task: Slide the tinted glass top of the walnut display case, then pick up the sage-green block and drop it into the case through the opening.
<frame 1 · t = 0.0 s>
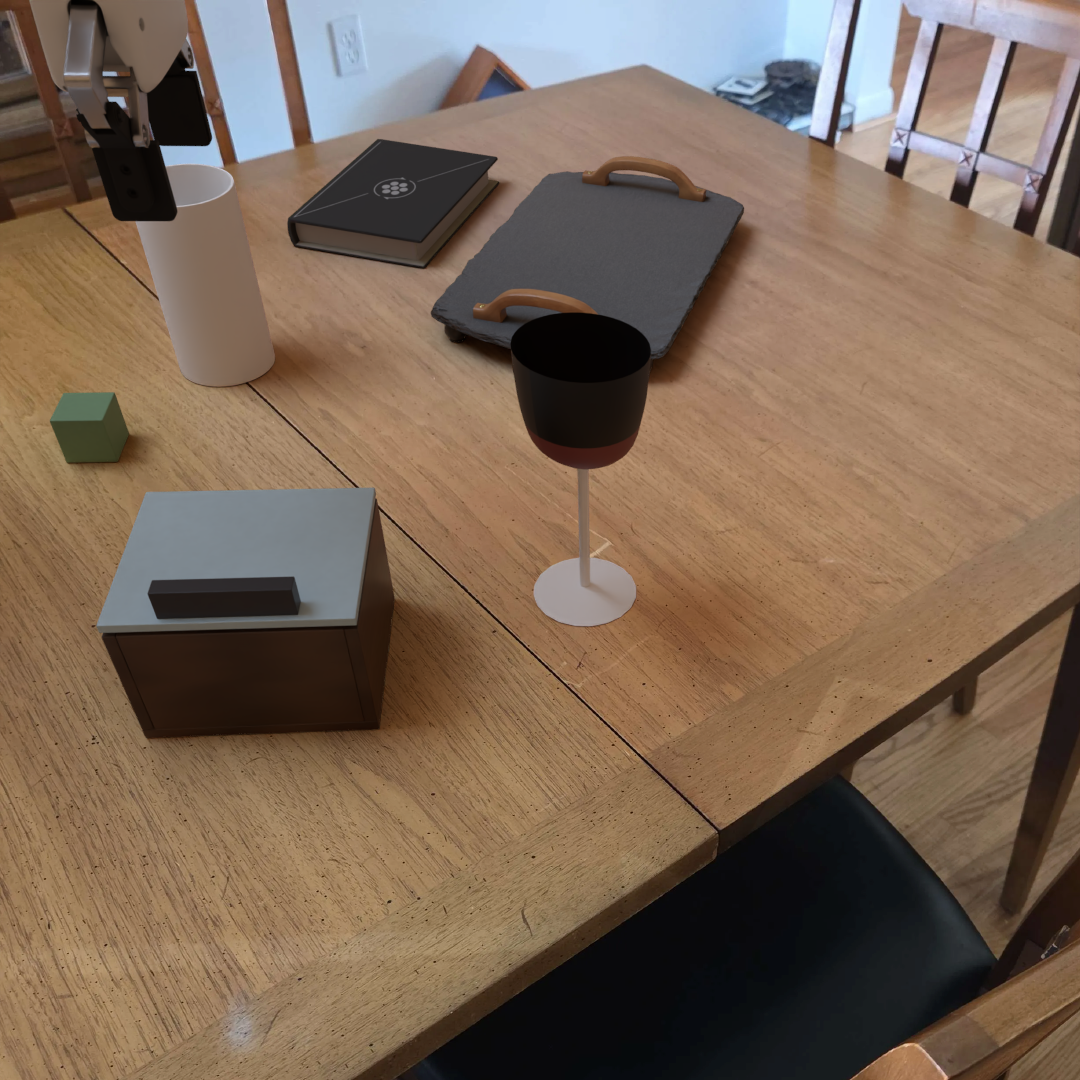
hand: (166, 179, 65), 29 cm above the table, tool pointing down, fingers open, 9 cm apart
block: (98, 448, 94), on the table
wineglass: (585, 592, 85), on the table
glass lid: (242, 542, 71), point 11 cm above the table, slide at 0.0 cm
cup: (228, 363, 104), on the table
case: (278, 663, 78), on the table
serving tray: (599, 281, 117), on the table
book: (400, 215, 126), on the table
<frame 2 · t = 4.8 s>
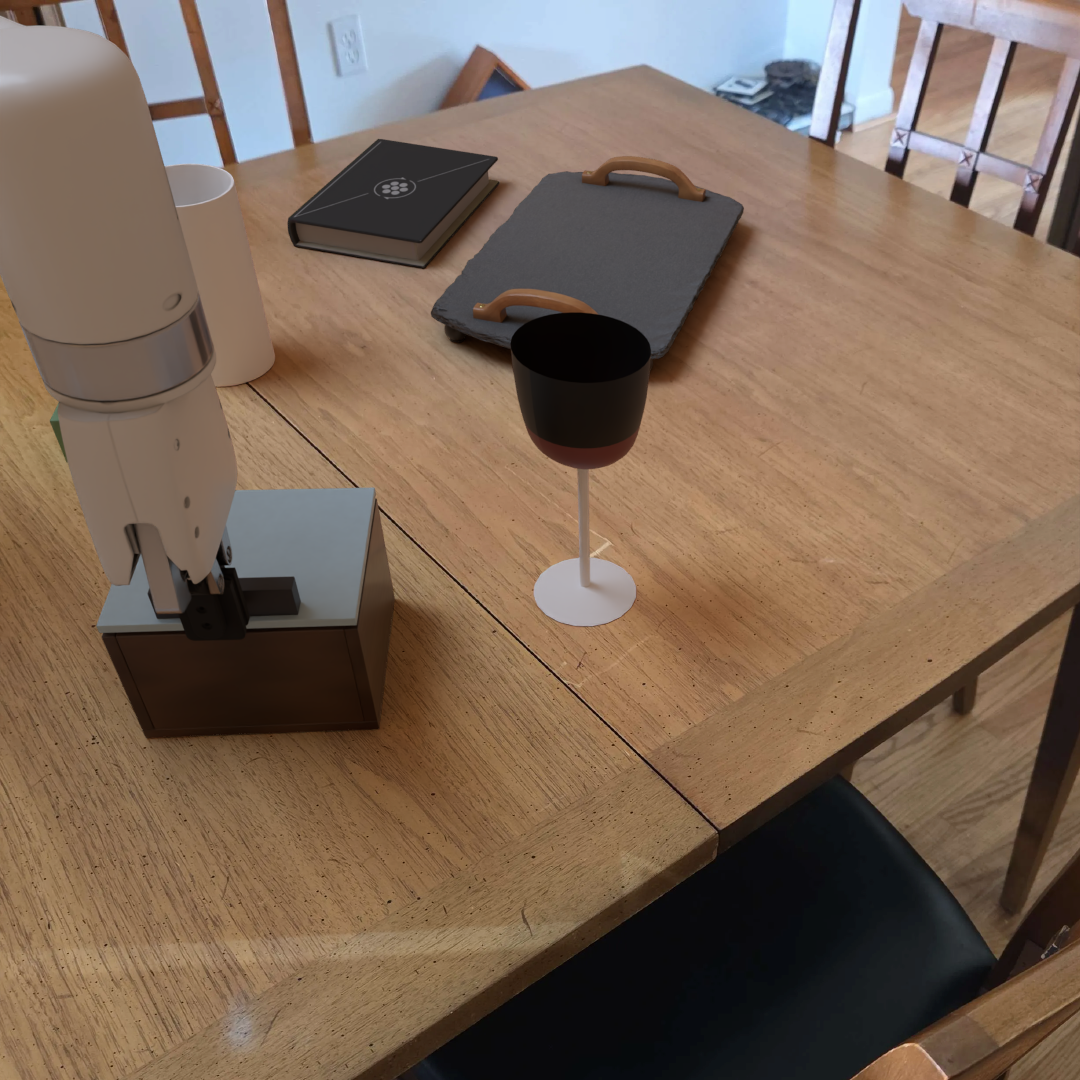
hand: (219, 630, 66), 11 cm above the table, tool pointing down, fingers closed
glass lid: (242, 542, 71), point 11 cm above the table, slide at 0.0 cm, touching gripper
everything else where it was.
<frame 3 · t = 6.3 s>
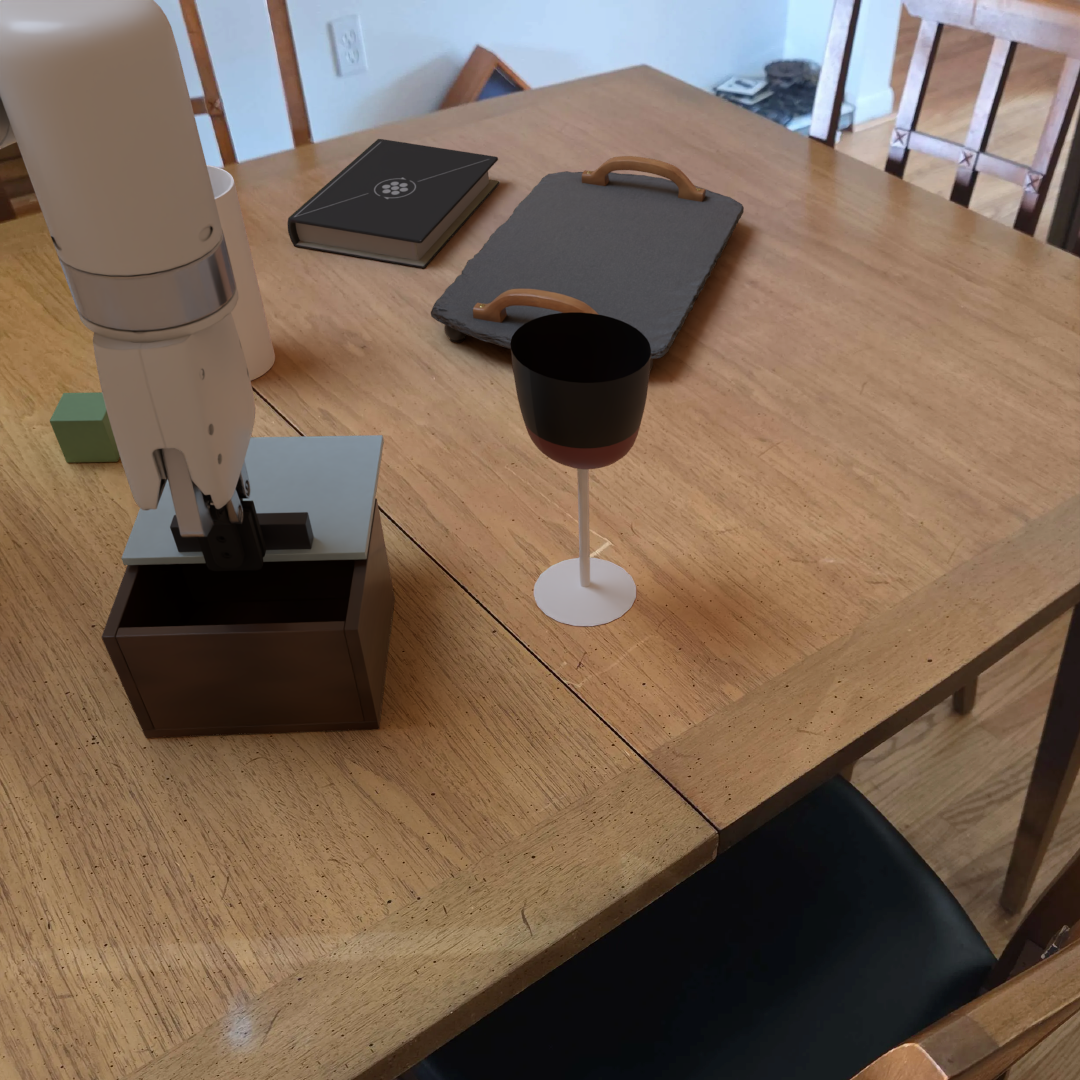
hand: (238, 561, 70), 11 cm above the table, tool pointing down, fingers closed
glass lid: (258, 483, 75), point 11 cm above the table, slide at 6.0 cm, touching gripper
everything else where it was.
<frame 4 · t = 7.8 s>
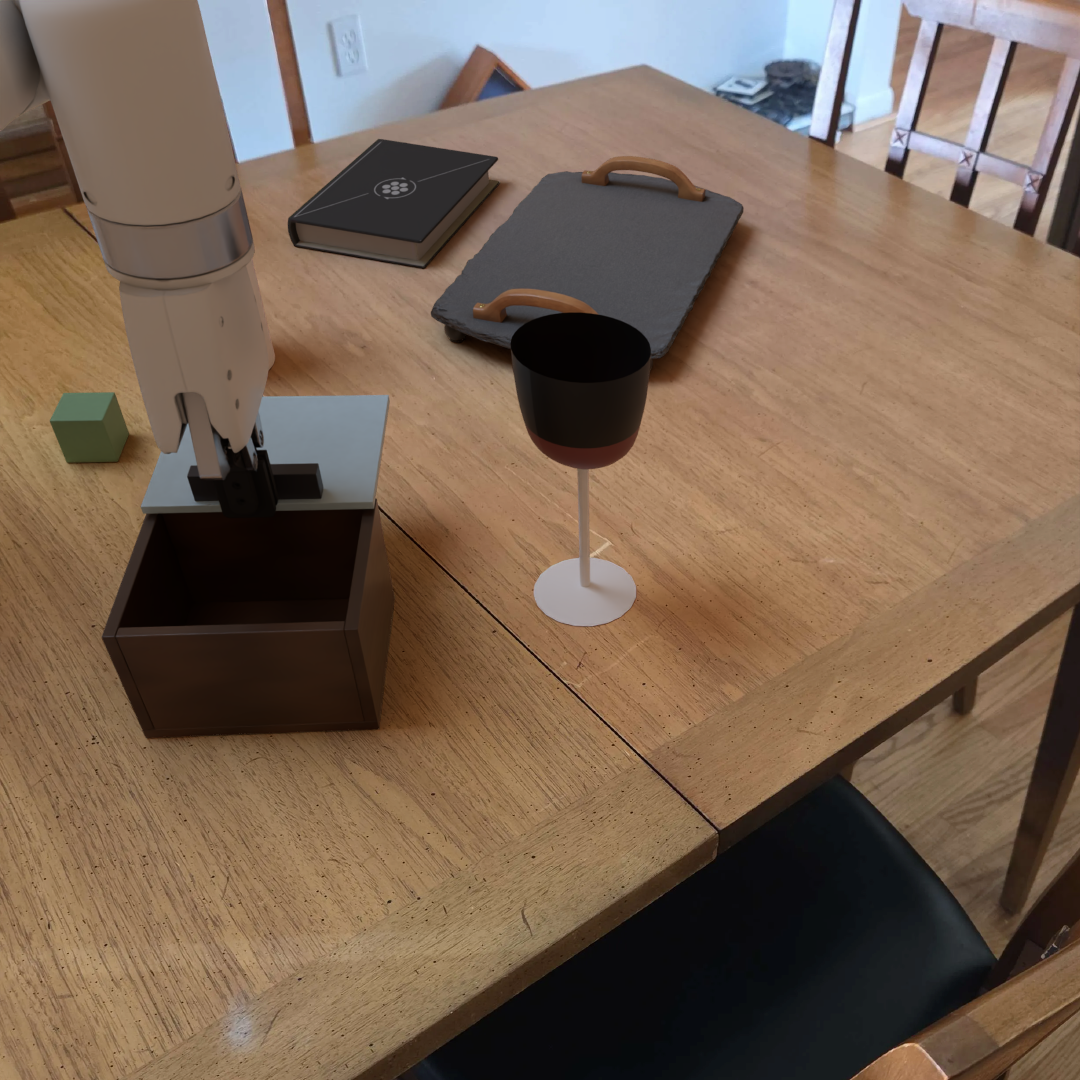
hand: (252, 509, 73), 10 cm above the table, tool pointing down, fingers closed
glass lid: (270, 438, 78), point 11 cm above the table, slide at 11.0 cm, touching gripper
everything else where it was.
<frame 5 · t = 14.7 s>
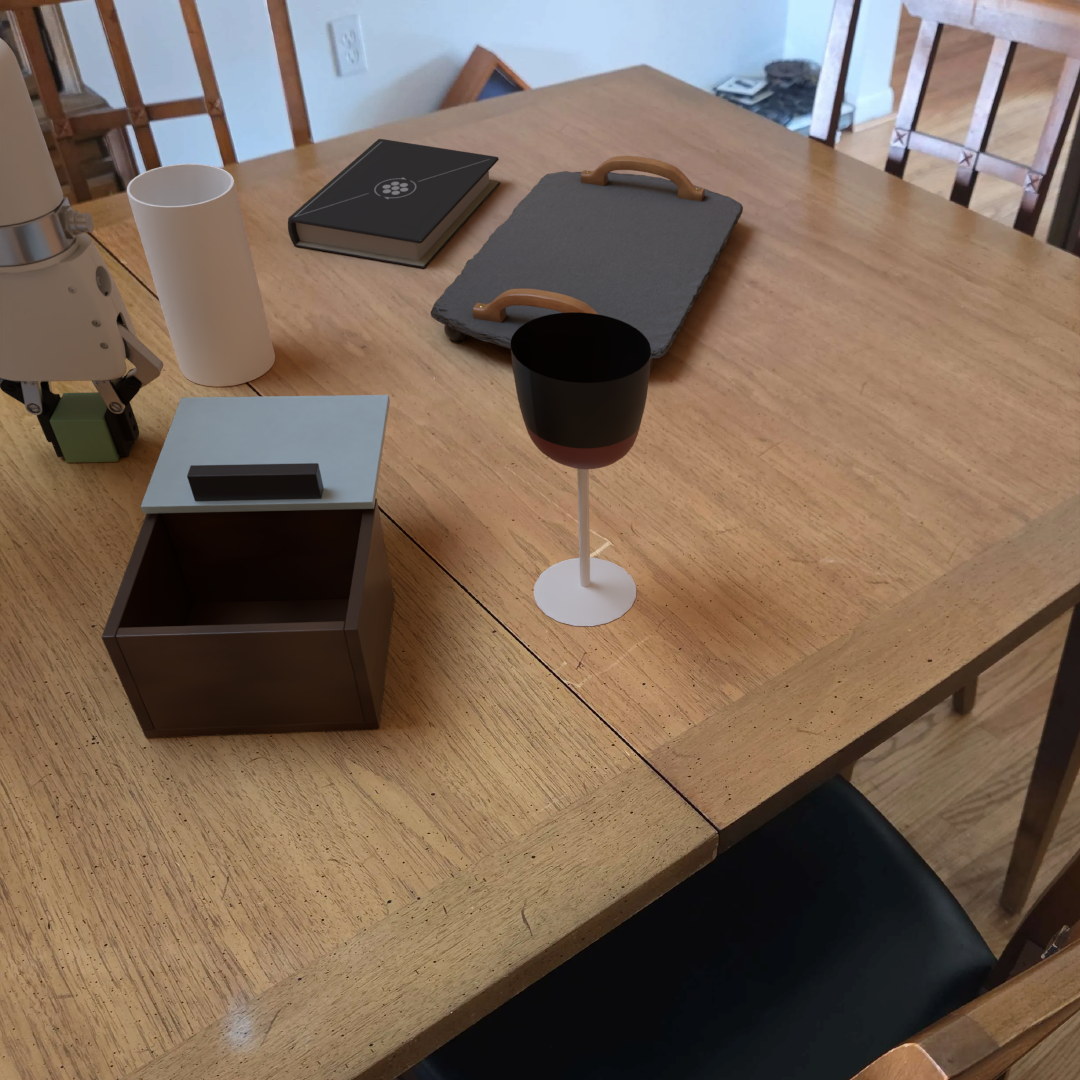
hand: (97, 444, 94), 0 cm above the table, tool pointing down, fingers closed on block, 4 cm apart
block: (98, 448, 94), on the table, touching gripper
glass lid: (270, 438, 78), point 11 cm above the table, slide at 11.0 cm
everything else where it was.
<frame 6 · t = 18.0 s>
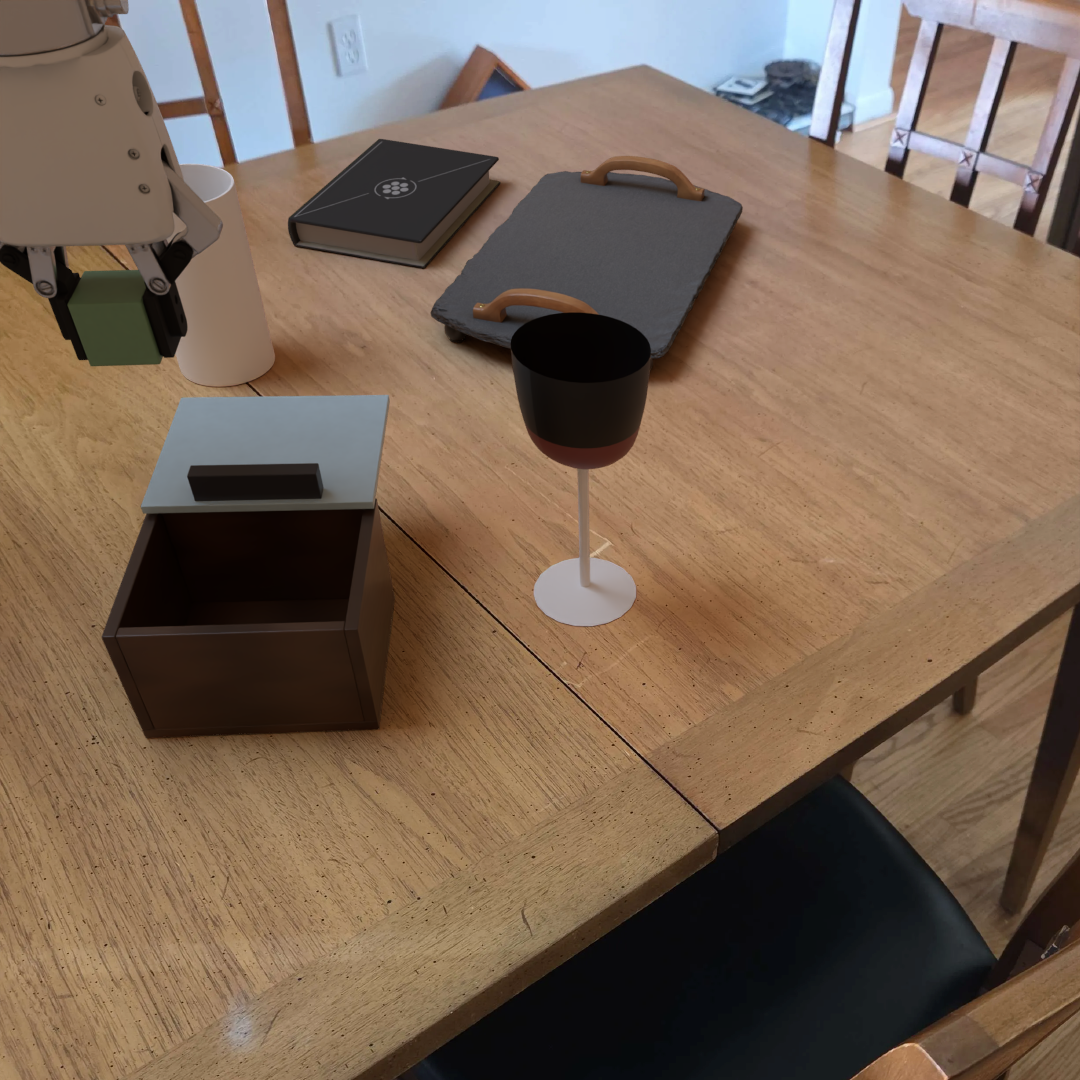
hand: (131, 344, 69), 20 cm above the table, tool pointing down, fingers closed on block, 4 cm apart
block: (132, 348, 70), point 19 cm above the table, touching gripper
everything else where it was.
when the fingers open (7 cm above the table, at t = 21.8 s): block drops 6 cm, resting on case.
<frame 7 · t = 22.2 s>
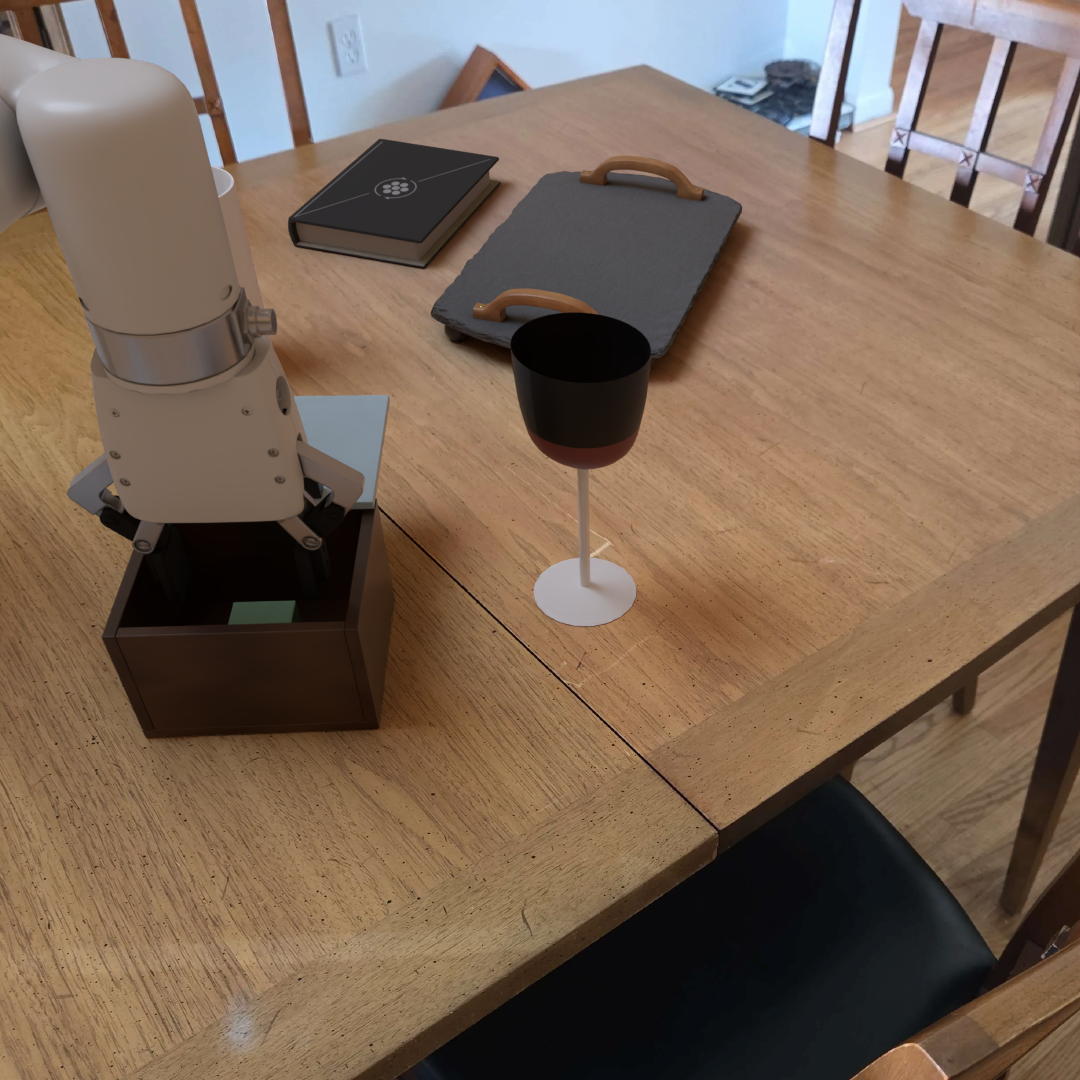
hand: (248, 586, 72), 8 cm above the table, tool pointing down, fingers open, 7 cm apart
block: (272, 665, 77), point 1 cm above the table, touching case
everything else where it was.
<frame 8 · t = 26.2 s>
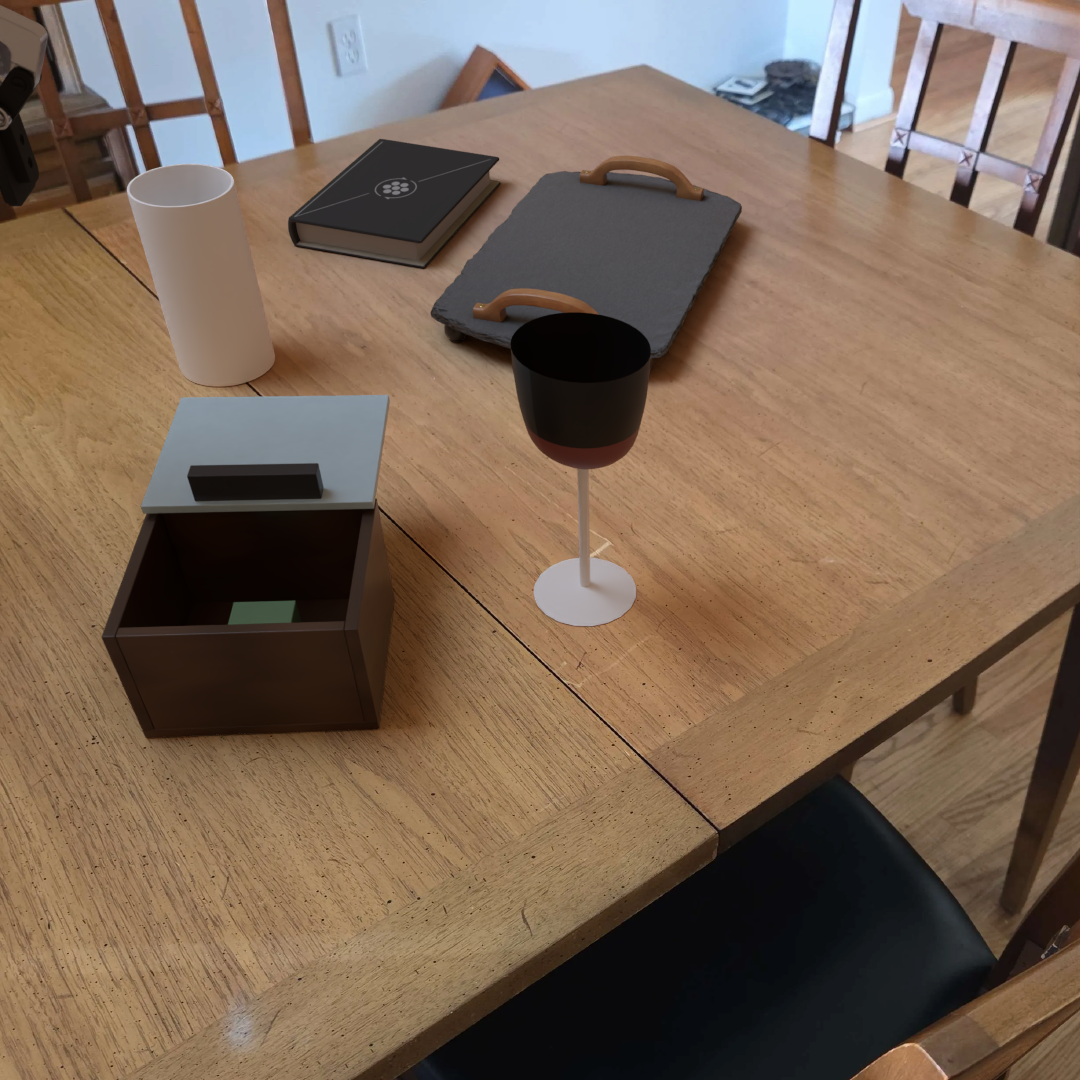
nothing on the table moved.
at the end: glass lid slide at 11.0 cm; block inside the target area on the case (0.9 cm from its centre), point 0.8 cm above the case's base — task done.
